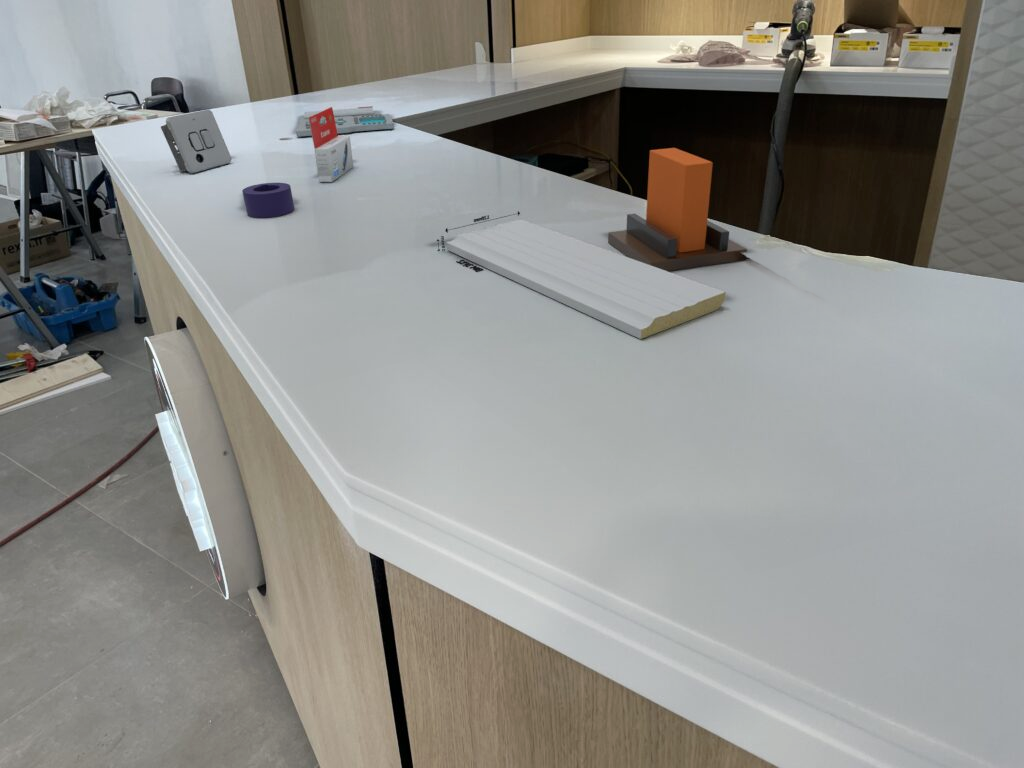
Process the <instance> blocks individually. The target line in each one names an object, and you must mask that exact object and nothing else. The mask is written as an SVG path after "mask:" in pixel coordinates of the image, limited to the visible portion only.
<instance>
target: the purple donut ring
mask: <svg viewBox="0 0 1024 768" xmlns="http://www.w3.org/2000/svg"><path fill="white" fill-rule="evenodd" d="M291 187H292V186H291V185H290V184H289V183H286V182H265V183H264V182H263V183H257V184H254V185H250V186H249V185H248V186H247V187H244V188H243V189H242V190H241V192H242V195H243V201H244V206H245V210H246V214H247V216H248V217H250V218H255V219H268V218H276V217H281V216H285V215H288V214H291V213H292V212H294V211H295V203H294V198H293V193H292V188H291Z"/></svg>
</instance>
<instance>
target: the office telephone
mask: <svg viewBox="0 0 1024 768" xmlns="http://www.w3.org/2000/svg"><path fill="white" fill-rule="evenodd" d="M322 111H323V110H313V111H311V110H310V111H304V112H303V115H301V116H300V118H299V121H298V125H297V127H296V130H295V135H296V137H310V136H311V137H312V134H311V129H310V124H309V119H308V118H309V117H311V116H313V115H315V114H317V113H319V112H322ZM333 114H334V118H335V124H336V129H337V135H338V134H349V133H354V132H364V131H366V132H367V131H377V130H378V131H379V130H392V129H394V122H393V119H392V116H391V115H390V114H389V113H385V114H384V113H383V114H382V113H379V110H374V106H372V105H371V106H359V107H355V108H341V109H333ZM319 123H320V126H321V125H323V124H325V123H326V120H325V118H324V117H321V120H320V122H319Z"/></svg>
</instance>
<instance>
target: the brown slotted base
mask: <svg viewBox="0 0 1024 768" xmlns="http://www.w3.org/2000/svg"><path fill="white" fill-rule="evenodd" d="M607 243H608V244H609V245H611V246H612V247H613V248H614V249H616V250H618V251H619V252H620V253H622V254H623V256H625V257H628V258H631V259H634V260H637V261H639V262H642V263H645V264H648V265H651V266H654V267H656V268H659V269H662V270H665V271H668V272H673V271H681V270H686V269H687V270H688V269H693V268H700V267H707V266H714V265H721V264H727V263H733V262H741V261H746V259H747V255H746V254H744V253H747V251H748V249H747V248H745V247H744V246H742V245H740V244H738V243H737V242H734V241H733V240H731V239H730V231H729V230H727V229H726V228H723V227H721V226H720V225H717V224H715V223H713V222H712V221H710V220H708V219H707V229H706V239H705V249H702V250H695V251H688V252H681V253H679V252H677V251H676V247H677V238H675V237H673V236H672V235H670V234H668V233H667V232H665V231H663V230H662V229H660V228H658V227H657V226H655V225H653V224H652V223H650V222H648V221H647V220H646V218H644V217H642V216H640V215H638V214H637V213H634V212H633V213H627V214H626V228H625V230H618V231H617V230H616V231H610V232H608V233H607Z"/></svg>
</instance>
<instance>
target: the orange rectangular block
mask: <svg viewBox="0 0 1024 768" xmlns="http://www.w3.org/2000/svg"><path fill="white" fill-rule="evenodd" d="M713 164H714V162H712V161H711V160H708V159H706V158H703V157H700V156H698V155H695V154H692V153H689V152H687V151H684V150H681V149H679V148H676V147H669V148H668V147H667V148H657V149H650V150H649V159H648V176H647V177H648V178H647V196H646V213H645V214H646V216H645V220H647V221H648V222H650V223H652V224H653V225H655V226H657V227H658V228H660V229H662V230H663V231H665V232H667V233H668V234H670V235H672V236H673V237H675V238H677V247H676V251H677V252H679V253H681V252H688V251H695V250H702V249H705V239H706V229H707V220H708V217H709V207H710V196H711V195H710V194H711V187H712V185H711V184H712V175H713V166H714V165H713Z"/></svg>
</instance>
